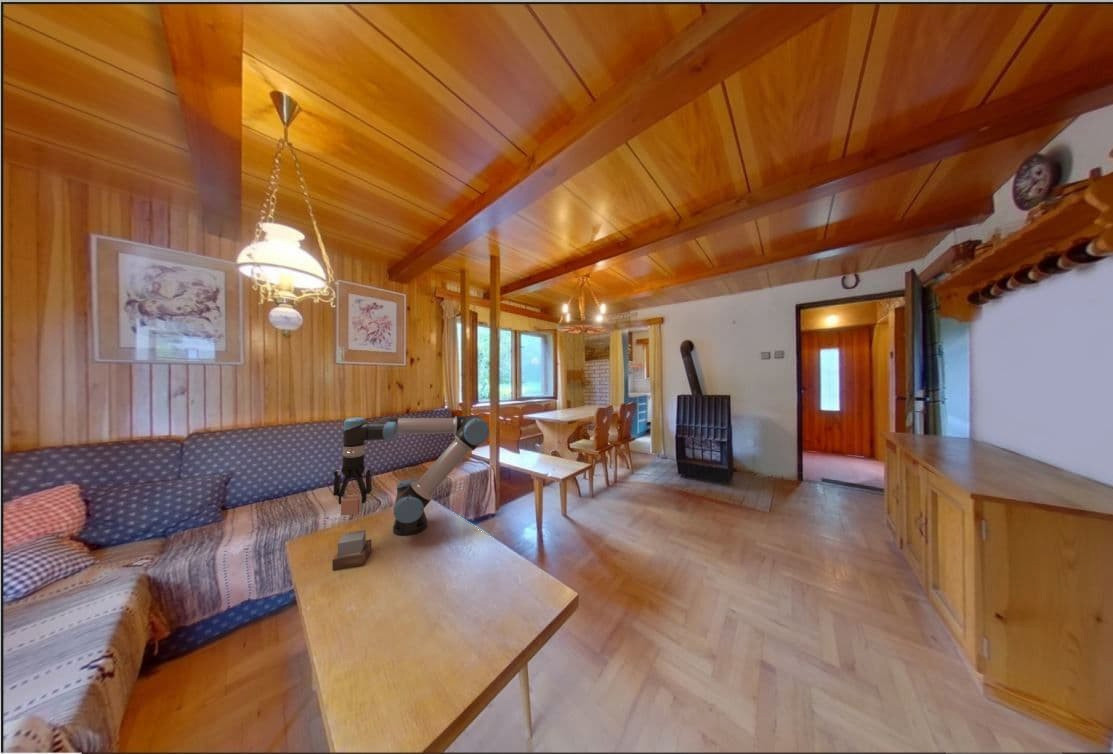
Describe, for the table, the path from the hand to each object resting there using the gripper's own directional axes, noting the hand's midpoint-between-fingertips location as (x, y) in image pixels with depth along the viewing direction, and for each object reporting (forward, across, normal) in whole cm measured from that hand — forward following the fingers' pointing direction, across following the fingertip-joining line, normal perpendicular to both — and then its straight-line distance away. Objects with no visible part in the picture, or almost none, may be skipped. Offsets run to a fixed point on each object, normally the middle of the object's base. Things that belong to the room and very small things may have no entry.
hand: (352, 510), depth 128 cm
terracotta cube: (0, 0, 0) cm, 0 cm away
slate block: (+13, +2, -5) cm, 14 cm away
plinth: (+17, +3, -5) cm, 18 cm away
